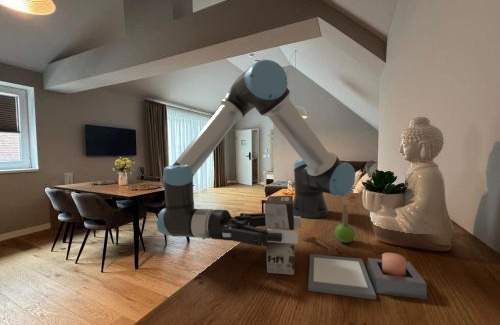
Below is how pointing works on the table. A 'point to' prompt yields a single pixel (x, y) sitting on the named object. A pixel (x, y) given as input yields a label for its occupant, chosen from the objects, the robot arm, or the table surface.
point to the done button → (393, 264)
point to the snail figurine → (344, 228)
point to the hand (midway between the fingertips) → (299, 229)
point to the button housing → (397, 281)
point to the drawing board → (339, 276)
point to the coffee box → (282, 217)
